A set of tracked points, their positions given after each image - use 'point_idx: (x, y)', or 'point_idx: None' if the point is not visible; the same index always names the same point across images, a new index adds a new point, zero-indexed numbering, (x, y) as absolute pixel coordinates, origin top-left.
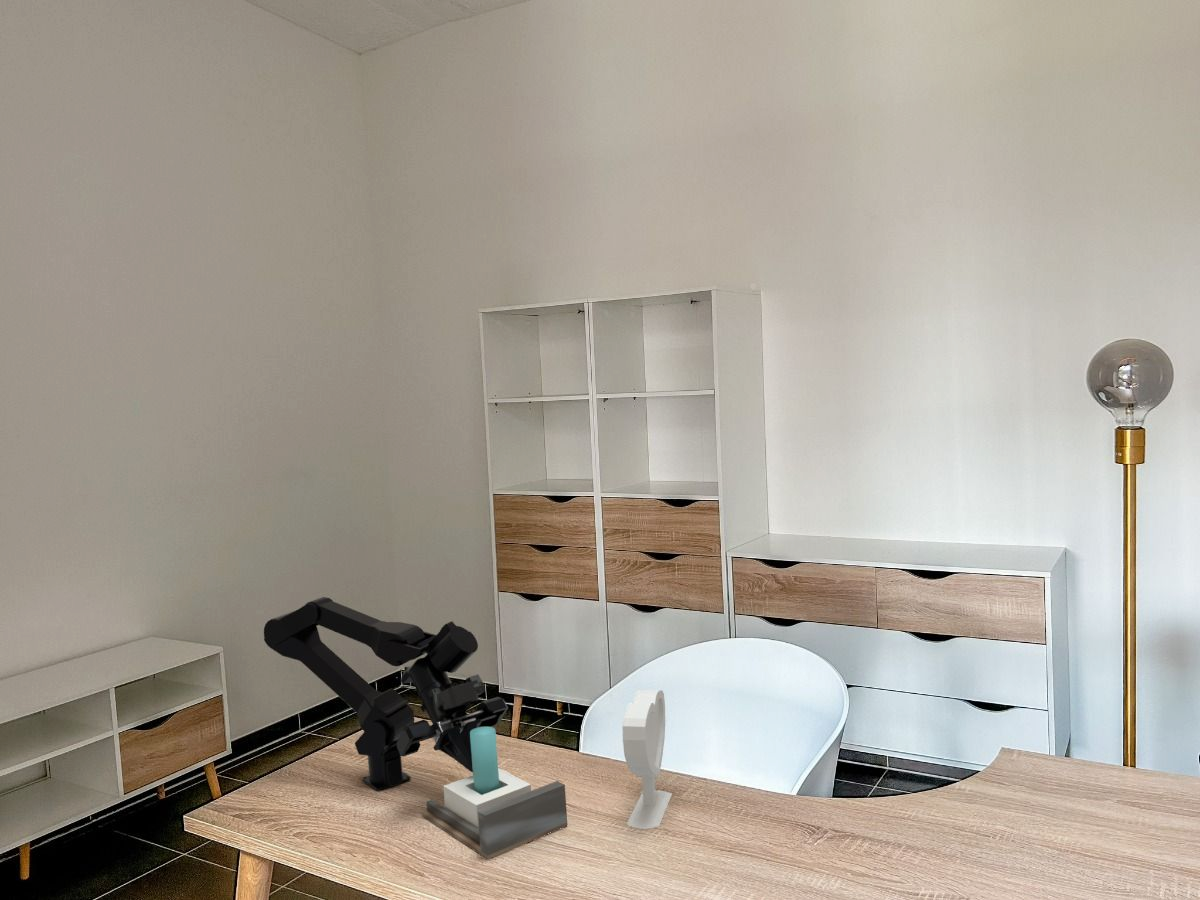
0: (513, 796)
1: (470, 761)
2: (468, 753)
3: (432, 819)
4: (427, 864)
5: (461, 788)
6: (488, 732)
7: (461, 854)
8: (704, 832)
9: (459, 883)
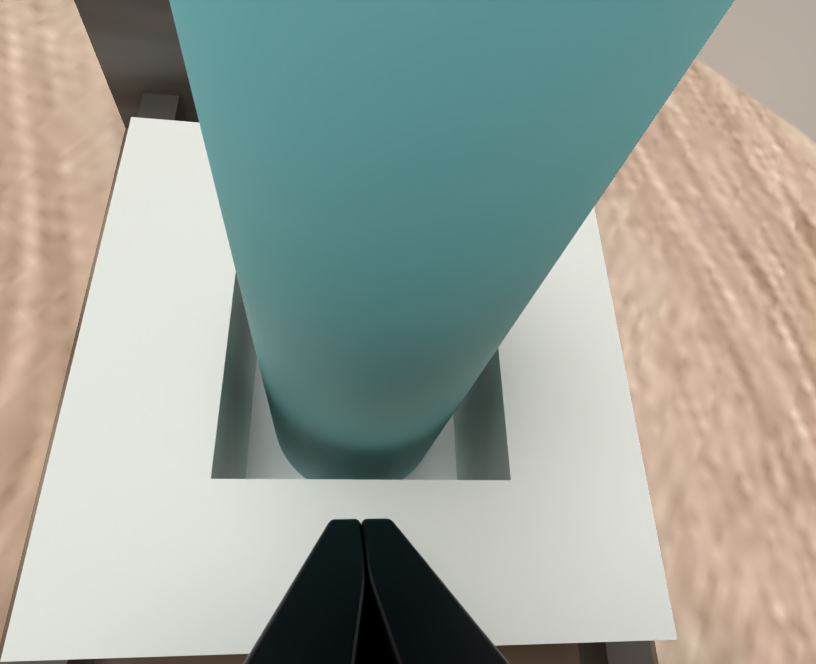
0: None
1: (409, 572)
2: (409, 655)
3: (653, 643)
4: (770, 267)
5: (560, 450)
6: None
7: (626, 233)
8: None
9: (699, 95)
